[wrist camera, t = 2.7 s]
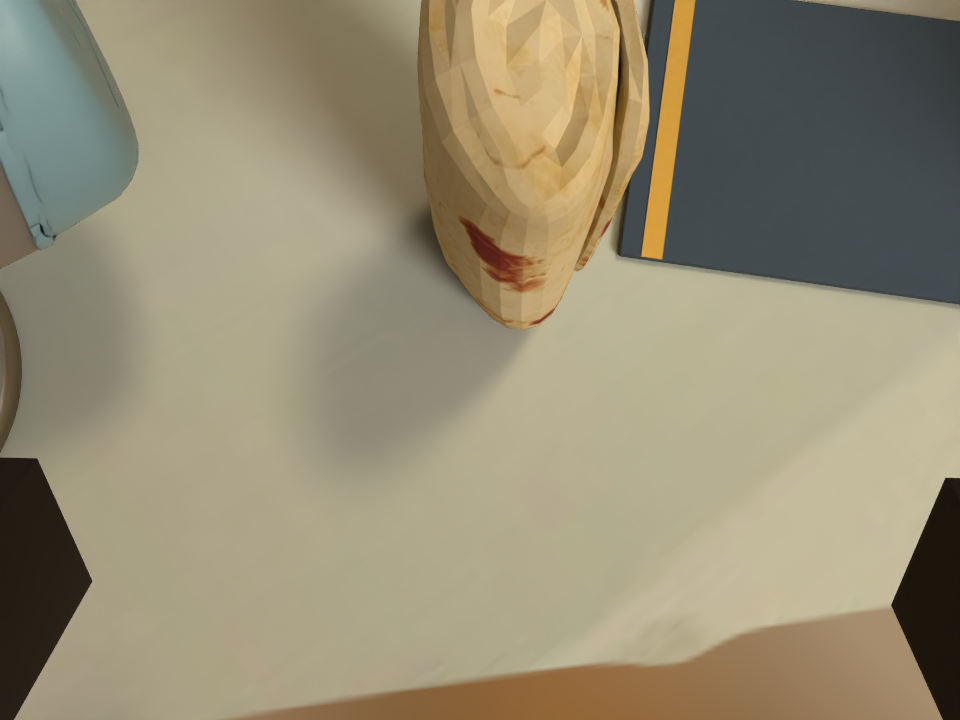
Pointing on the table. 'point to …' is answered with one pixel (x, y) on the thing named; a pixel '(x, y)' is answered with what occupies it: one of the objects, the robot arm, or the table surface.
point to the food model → (528, 139)
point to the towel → (801, 146)
